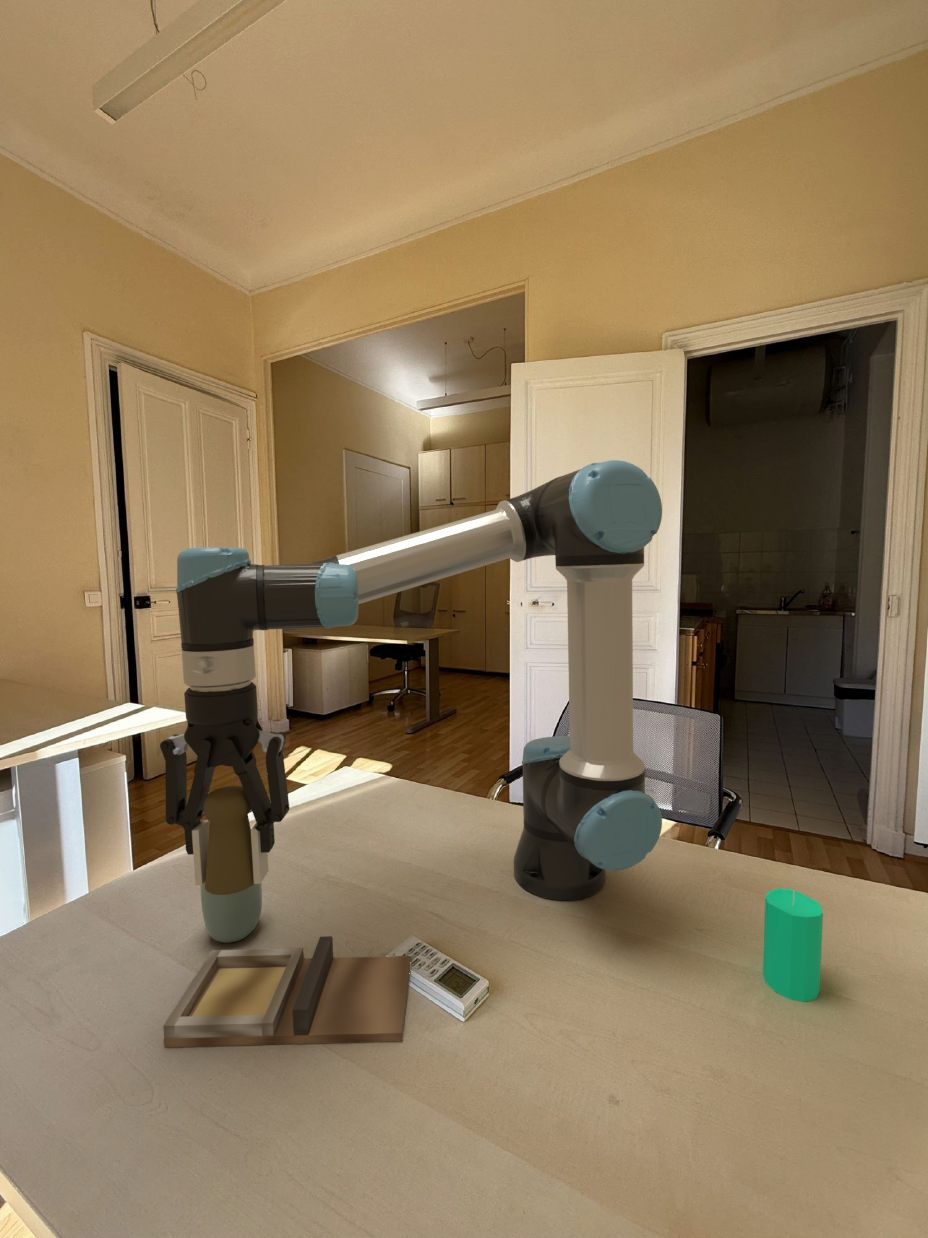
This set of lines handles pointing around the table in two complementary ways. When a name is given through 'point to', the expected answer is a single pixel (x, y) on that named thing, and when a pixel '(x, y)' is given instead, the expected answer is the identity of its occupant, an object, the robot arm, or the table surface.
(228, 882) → the brown game pawn
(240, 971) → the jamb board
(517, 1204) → the table surface
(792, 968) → the candle
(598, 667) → the robot arm
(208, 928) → the cup
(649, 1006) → the table surface
